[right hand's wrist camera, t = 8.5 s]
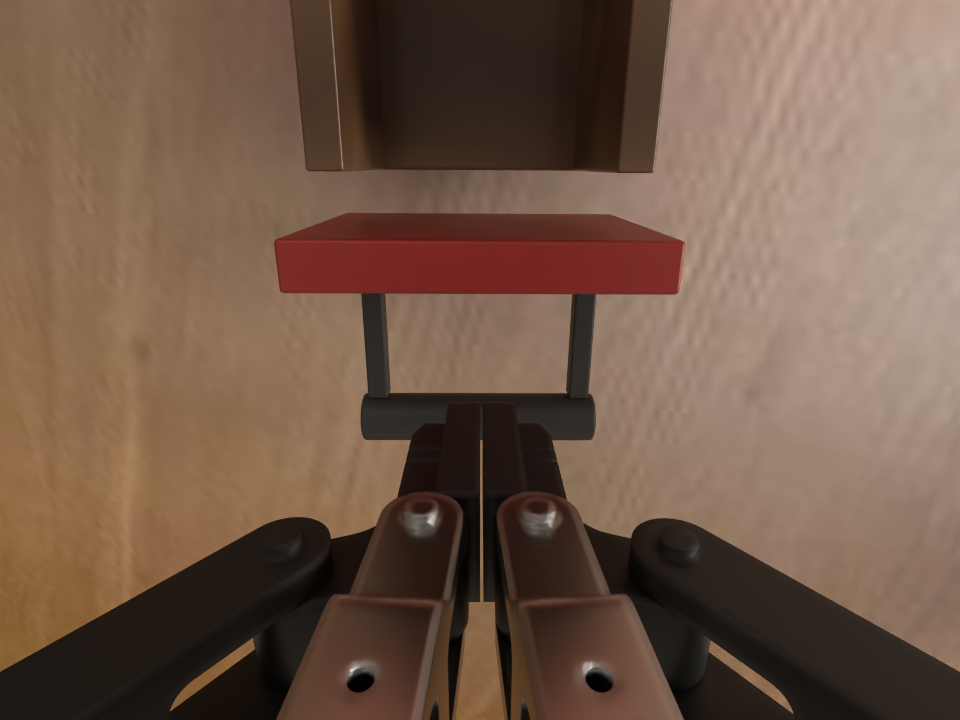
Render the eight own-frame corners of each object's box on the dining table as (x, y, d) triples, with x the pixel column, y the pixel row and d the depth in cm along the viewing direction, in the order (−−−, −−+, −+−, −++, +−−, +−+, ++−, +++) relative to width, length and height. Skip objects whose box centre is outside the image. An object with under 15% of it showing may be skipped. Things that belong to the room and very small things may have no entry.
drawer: (596, 395, 21) (653, 501, 14) (358, 395, 20) (303, 502, 14) (673, -507, 13) (878, -1200, 6) (289, -513, 13) (94, -1224, 6)
